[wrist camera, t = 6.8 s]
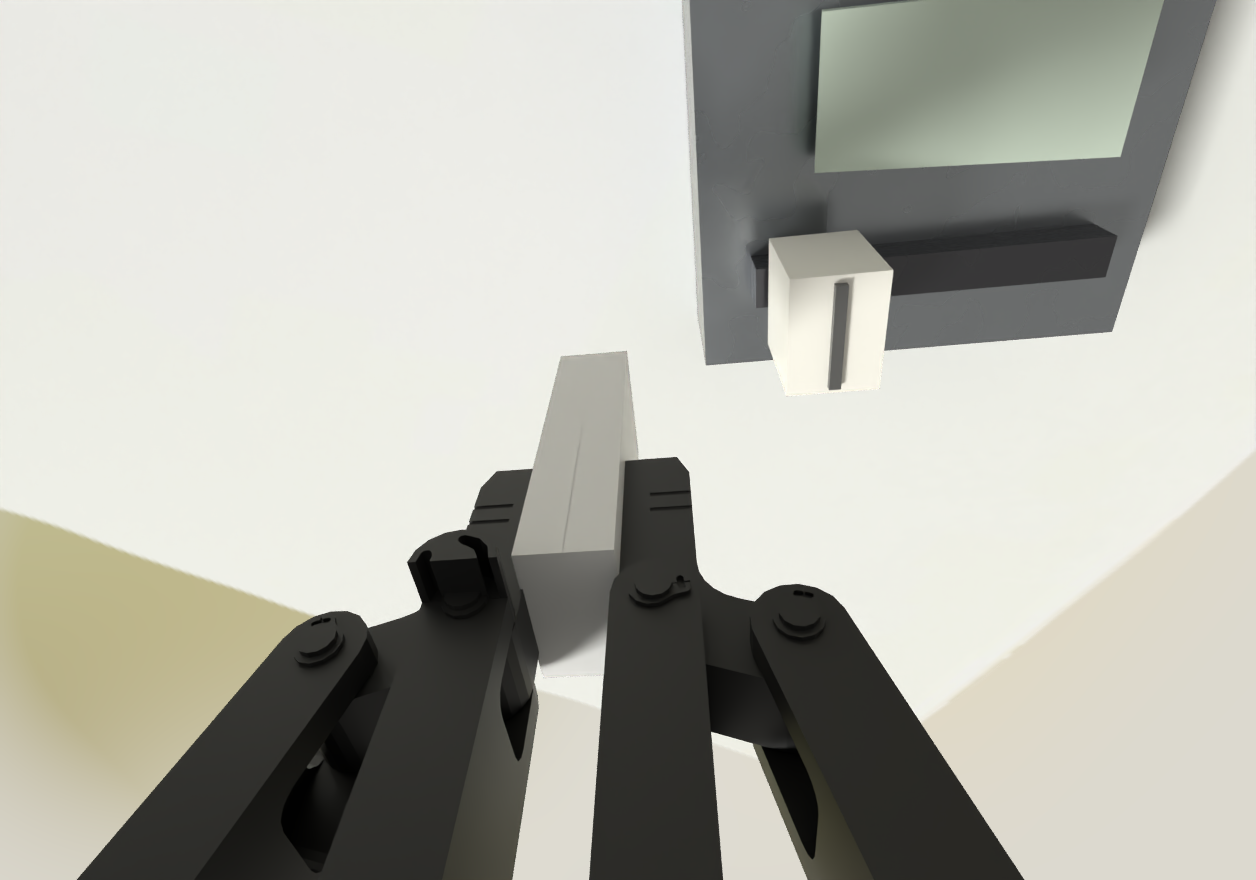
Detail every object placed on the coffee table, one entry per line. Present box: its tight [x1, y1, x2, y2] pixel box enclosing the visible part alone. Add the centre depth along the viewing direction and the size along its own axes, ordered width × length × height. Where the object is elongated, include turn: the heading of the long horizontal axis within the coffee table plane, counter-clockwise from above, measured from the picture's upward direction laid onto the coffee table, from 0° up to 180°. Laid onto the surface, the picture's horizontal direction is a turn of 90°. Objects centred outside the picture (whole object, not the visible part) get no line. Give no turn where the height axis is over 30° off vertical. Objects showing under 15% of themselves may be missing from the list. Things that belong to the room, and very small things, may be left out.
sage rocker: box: [815, 0, 1164, 173], centre depth 16 cm, size 4×7×1 cm, turn 96°
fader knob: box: [768, 230, 893, 396], centre depth 18 cm, size 3×2×3 cm
